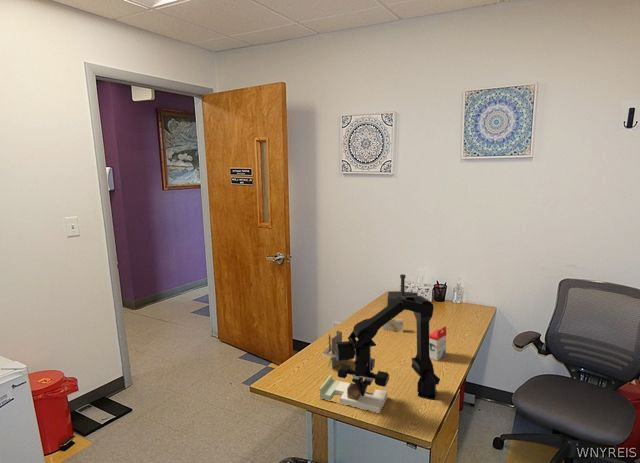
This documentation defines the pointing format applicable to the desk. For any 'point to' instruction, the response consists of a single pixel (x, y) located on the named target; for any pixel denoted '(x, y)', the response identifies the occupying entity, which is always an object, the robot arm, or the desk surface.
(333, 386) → the board
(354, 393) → the walnut block
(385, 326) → the model
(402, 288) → the dark post stand
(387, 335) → the desk surface
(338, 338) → the architectural model
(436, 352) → the ink box
